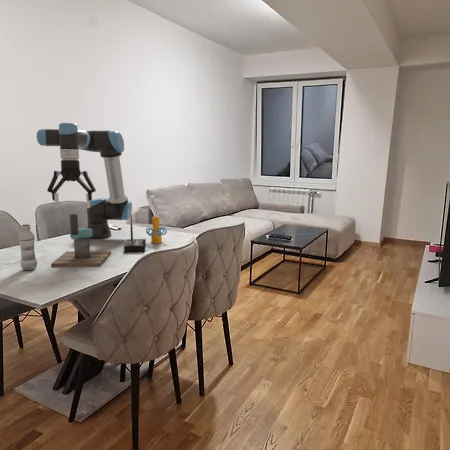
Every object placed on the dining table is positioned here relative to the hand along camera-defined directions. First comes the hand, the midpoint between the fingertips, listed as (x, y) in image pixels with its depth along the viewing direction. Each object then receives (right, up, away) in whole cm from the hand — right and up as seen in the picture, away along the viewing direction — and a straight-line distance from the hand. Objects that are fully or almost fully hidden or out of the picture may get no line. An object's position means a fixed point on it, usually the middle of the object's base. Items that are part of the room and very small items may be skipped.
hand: (72, 208), depth 174 cm
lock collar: (-1, -13, +10) cm, 17 cm away
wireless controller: (+19, -21, +40) cm, 49 cm away
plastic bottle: (-19, -28, -1) cm, 33 cm away
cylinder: (+28, -18, +53) cm, 62 cm away
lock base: (-1, -24, +15) cm, 29 cm away
